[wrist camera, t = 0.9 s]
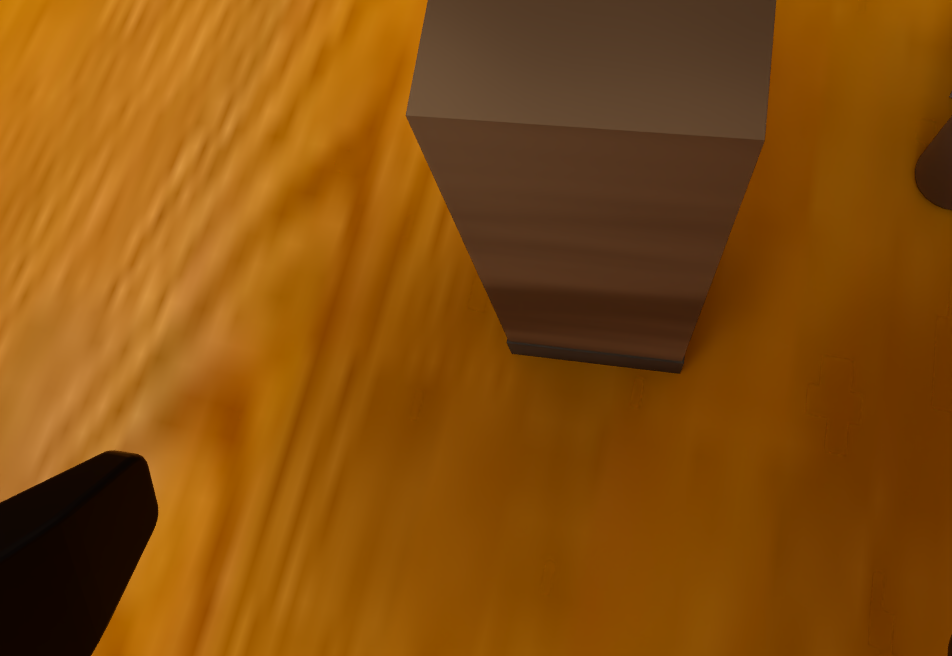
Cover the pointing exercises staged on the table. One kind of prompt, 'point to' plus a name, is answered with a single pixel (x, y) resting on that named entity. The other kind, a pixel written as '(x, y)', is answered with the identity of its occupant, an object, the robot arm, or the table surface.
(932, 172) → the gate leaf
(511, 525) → the table surface
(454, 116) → the doorstop post
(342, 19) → the table surface
